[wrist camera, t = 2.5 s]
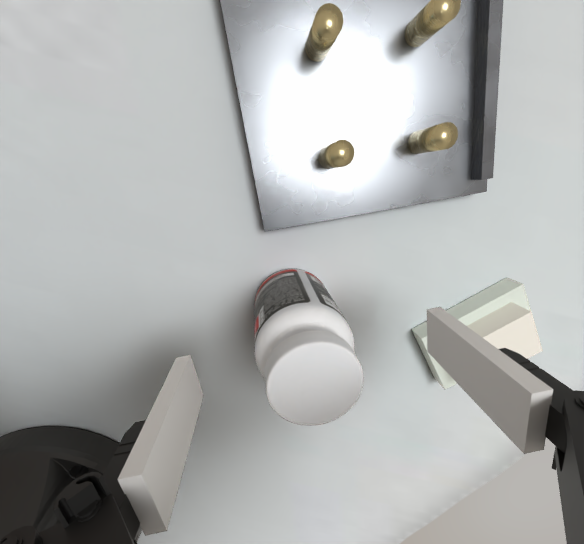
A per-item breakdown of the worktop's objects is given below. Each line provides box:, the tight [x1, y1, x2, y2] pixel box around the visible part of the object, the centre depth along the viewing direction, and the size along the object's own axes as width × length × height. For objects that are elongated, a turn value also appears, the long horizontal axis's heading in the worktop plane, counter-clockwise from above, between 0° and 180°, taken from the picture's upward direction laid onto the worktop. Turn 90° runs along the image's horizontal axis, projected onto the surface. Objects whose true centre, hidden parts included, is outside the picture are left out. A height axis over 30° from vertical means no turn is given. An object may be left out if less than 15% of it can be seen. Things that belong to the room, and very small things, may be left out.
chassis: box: [220, 0, 503, 232], centre depth 17 cm, size 16×14×4 cm
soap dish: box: [412, 278, 543, 390], centre depth 24 cm, size 9×6×3 cm, turn 119°
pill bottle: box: [254, 269, 364, 426], centre depth 18 cm, size 6×6×10 cm
